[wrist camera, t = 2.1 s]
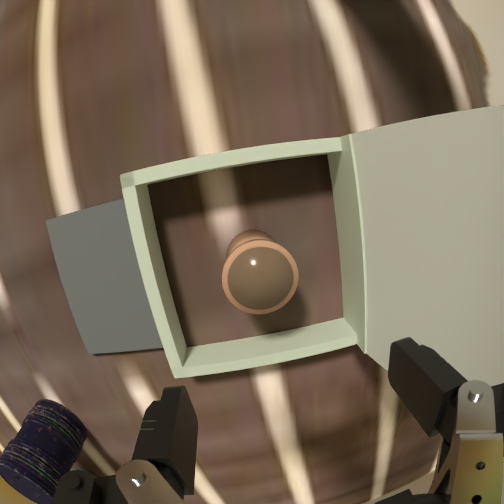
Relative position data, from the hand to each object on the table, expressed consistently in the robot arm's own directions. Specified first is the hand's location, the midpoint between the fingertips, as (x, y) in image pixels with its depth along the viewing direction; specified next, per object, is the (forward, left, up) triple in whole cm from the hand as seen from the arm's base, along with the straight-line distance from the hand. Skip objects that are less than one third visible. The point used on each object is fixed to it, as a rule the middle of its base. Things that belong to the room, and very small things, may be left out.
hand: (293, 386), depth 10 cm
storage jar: (+34, +21, -20) cm, 45 cm away
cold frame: (-1, 0, -20) cm, 20 cm away
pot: (0, 0, -20) cm, 20 cm away
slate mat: (+16, 0, -20) cm, 25 cm away
